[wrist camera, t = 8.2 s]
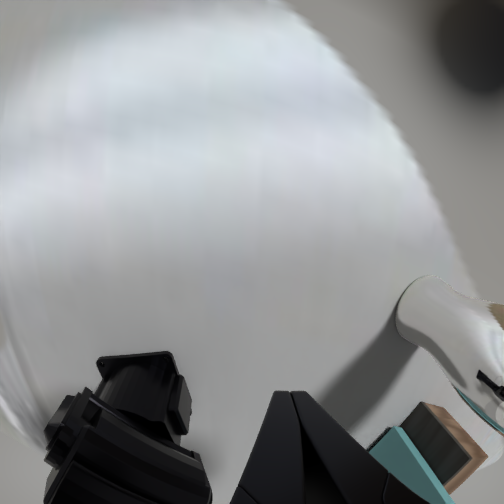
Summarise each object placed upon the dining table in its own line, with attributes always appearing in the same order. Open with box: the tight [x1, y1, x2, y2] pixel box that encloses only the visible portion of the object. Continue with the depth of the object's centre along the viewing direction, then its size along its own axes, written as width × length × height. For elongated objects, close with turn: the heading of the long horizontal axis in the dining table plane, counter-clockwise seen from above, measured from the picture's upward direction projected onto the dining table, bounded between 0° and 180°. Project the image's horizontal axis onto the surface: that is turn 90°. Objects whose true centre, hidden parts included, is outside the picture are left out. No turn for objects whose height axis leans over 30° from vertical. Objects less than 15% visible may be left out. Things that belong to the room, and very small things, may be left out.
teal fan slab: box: [369, 426, 455, 504], centre depth 19 cm, size 7×9×13 cm
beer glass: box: [395, 275, 504, 437], centre depth 15 cm, size 7×7×15 cm
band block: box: [400, 402, 488, 495], centre depth 21 cm, size 6×16×10 cm, turn 151°
